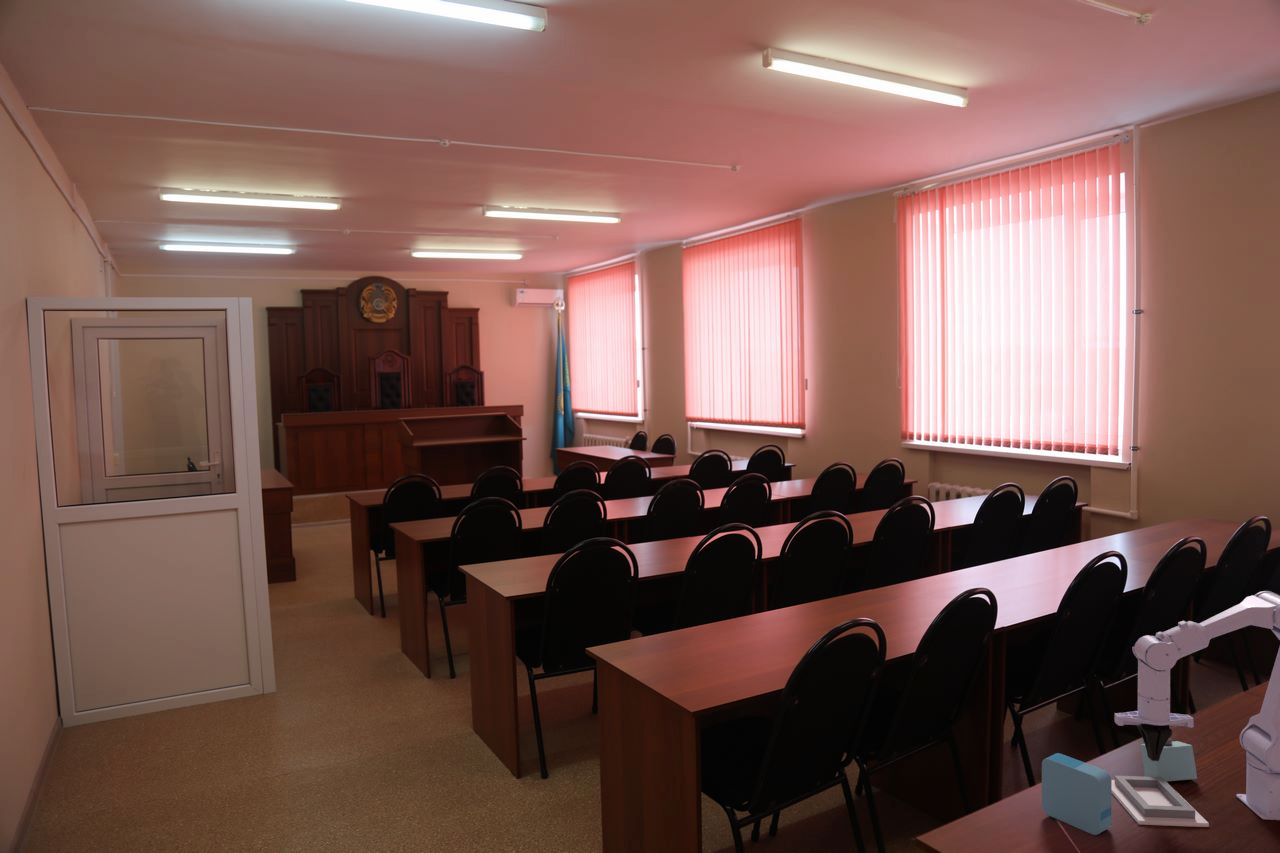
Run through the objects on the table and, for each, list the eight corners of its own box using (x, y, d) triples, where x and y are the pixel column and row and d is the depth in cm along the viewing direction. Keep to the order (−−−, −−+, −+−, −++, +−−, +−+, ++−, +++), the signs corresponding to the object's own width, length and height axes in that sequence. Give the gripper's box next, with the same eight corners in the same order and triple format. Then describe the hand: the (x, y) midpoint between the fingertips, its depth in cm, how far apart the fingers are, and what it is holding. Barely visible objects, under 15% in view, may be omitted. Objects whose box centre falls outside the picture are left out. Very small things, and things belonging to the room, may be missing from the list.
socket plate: (1208, 827, 165) (1208, 814, 165) (1138, 824, 166) (1138, 812, 166) (1166, 785, 182) (1166, 774, 181) (1103, 783, 183) (1103, 772, 183)
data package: (1111, 831, 164) (1112, 772, 164) (1099, 838, 162) (1100, 778, 161) (1053, 805, 174) (1053, 750, 174) (1041, 812, 172) (1041, 756, 171)
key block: (1197, 778, 182) (1191, 739, 183) (1159, 782, 181) (1153, 742, 182) (1182, 773, 186) (1176, 735, 188) (1144, 776, 186) (1139, 738, 187)
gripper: (1181, 688, 176) (1180, 751, 176) (1108, 687, 178) (1108, 749, 178) (1199, 701, 169) (1198, 766, 169) (1123, 700, 171) (1122, 764, 171)
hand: (1153, 758), depth 173 cm, fingers closed
